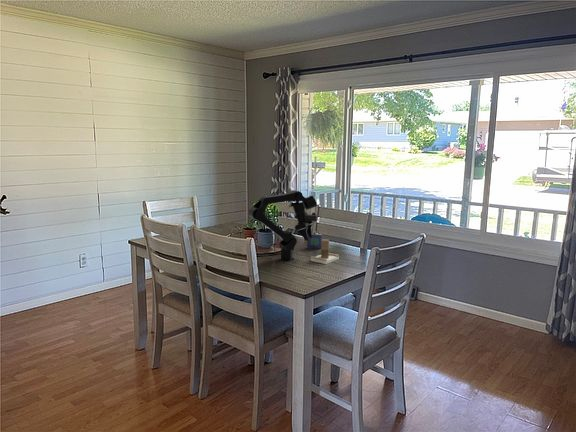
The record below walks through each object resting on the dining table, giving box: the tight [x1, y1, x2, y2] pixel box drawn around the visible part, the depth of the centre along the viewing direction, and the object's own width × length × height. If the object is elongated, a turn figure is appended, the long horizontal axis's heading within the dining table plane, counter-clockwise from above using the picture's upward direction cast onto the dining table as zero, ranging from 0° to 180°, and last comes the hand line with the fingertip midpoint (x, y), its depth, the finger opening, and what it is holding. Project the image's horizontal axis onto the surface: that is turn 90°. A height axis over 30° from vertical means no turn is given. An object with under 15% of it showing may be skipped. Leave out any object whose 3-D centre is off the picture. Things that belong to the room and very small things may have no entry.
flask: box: [306, 231, 323, 250], centre depth 264 cm, size 9×3×11 cm, turn 88°
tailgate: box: [309, 252, 340, 265], centre depth 240 cm, size 13×11×2 cm
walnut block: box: [320, 238, 330, 258], centre depth 239 cm, size 4×4×10 cm
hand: (309, 239), depth 239 cm, fingers open, 9 cm apart
